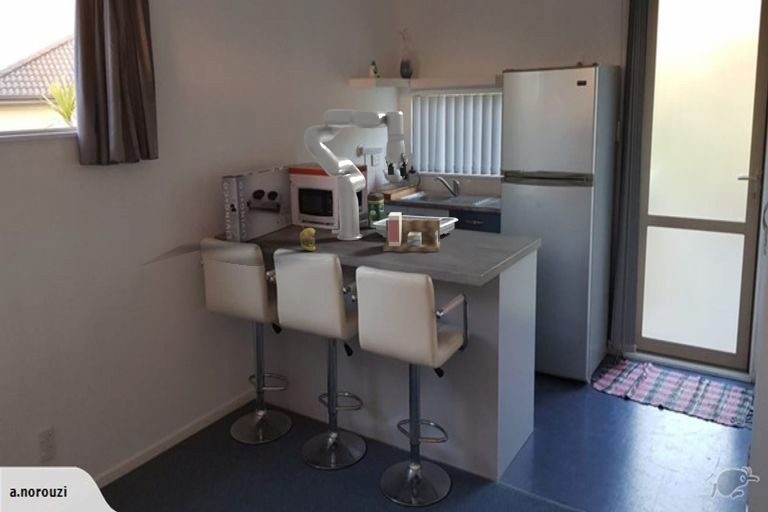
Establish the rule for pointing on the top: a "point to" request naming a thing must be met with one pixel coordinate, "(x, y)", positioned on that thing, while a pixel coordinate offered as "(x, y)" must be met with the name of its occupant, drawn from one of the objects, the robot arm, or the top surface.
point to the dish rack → (445, 222)
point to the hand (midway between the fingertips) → (397, 175)
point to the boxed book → (395, 228)
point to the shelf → (416, 227)
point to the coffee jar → (375, 208)
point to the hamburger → (308, 239)
